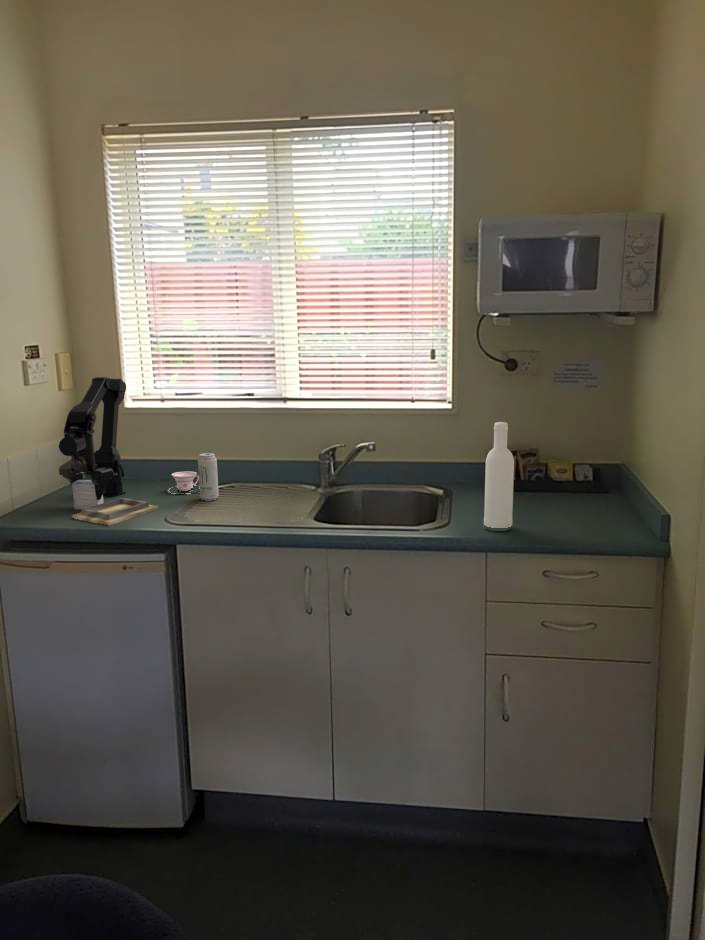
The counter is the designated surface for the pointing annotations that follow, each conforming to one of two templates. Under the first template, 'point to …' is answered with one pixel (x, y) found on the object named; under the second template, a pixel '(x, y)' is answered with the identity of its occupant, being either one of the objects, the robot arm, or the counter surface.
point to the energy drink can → (208, 476)
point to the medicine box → (85, 494)
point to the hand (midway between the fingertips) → (88, 498)
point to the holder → (115, 511)
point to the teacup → (184, 480)
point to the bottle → (499, 481)
